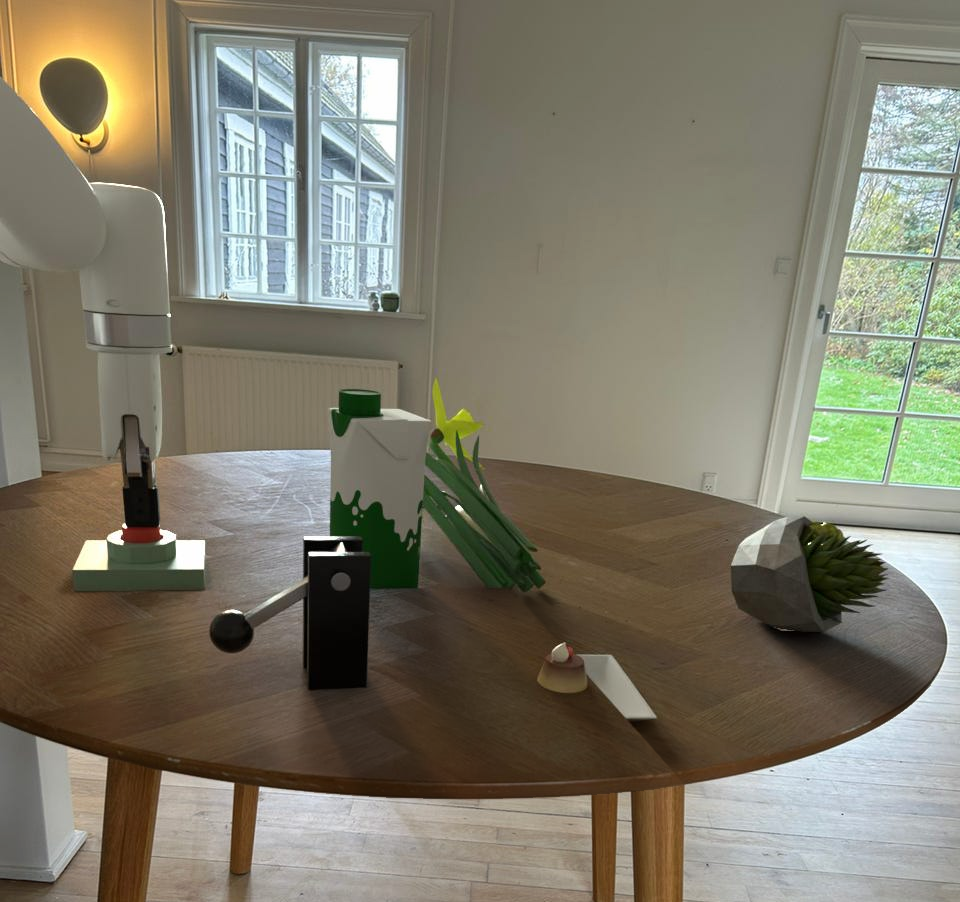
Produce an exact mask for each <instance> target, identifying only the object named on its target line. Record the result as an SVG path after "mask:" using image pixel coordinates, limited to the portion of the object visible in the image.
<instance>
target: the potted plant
mask: <svg viewBox="0 0 960 902" xmlns="http://www.w3.org/2000/svg"><path fill="white" fill-rule="evenodd" d="M851 537H852V535H849V536H846V537H845V536H844V533H843V531H842V530H841V529H840V528H838V527H837V526H836V525H835V524H832V523H829V522H823V524H821V523H820V522H819V521H817V520H811V519H809V518H808V517H806V516H805V515H797V516H796V515H795V516H794V515H793V516H785V517H782V518H779V519H776V520H773V521H772V522H770V523H769V524H767V525H766V526H763V528H761V529H758V530H757V531H756V532H754V533H752V534H750V535H749V536H747V537H746V538H744V540H742V541H741V542H740V544H739V545H738V546H737V549H736V551H735V554H734V556H733V559H732V562H731V564H730V584H731V586H730V587H731V593H732V596H733V598H734V601H735V604H736V605H737V608H738V610H740V611H742V612H743V613H745V614H747V615H748V616H751V617H753V618H755V619H756V620H758V621H760V622H762V623H764V624H766V625H768V624H769V625H771V626H773V627H776V628H780V629H787V630H794V631H801V633H825V632H827V631H828V630H830V629H832V628H834V627H836V626H838V625H840V624H843V621H842V620H843V619H842V613H850V614H861V612H860V611H857V610H854V609H851V608H848V607H847V606H854V607H865V608H873V607H876V605H873V604H869V603H867V602H863V601H860V600H867V599H873V598H879V595H874V594H878V593H882V592H886V591H887V589H884V588H879V586H883V585H885V584H886V583H884V582H883V581H887V580H888V579H889V577H885V576H888V575H889V573H884V572H886V571H889V569H890V568H888V567H884V566H883V565H885V564H886V563H887V562H886V561H882V558H879V557H878V556H881V555H882V553H881V552H875V551H866V550H867V549H868V548H870V547H871V546H874V544H867V545H863V546H859V545H862V544H863V543H865V542H866V541H868V539H864V540H862V539H859V540H854V541H851V542H848V543H846V542H847V541H848V540H849V539H850V538H851ZM876 557H878V558H876ZM882 573H884V574H882ZM769 625H768V626H769ZM771 626H770V627H771ZM773 627H772V628H773Z"/></svg>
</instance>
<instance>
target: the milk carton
mask: <svg viewBox="0 0 960 902" xmlns="http://www.w3.org/2000/svg"><path fill="white" fill-rule="evenodd" d="M381 407H382V393H381V392H380V391H376V390H371V389H363V388H362V389H361V388H343V389H342V388H341V389H340V390H338V407H328V408H327V417H328V418H327V419H328V433H329V449H330V478H329V479H330V481H329V482H330V485H329V486H330V487H329V490H330V491H329V537H361V538H362V540H363V552H369V553H370V555H371V575H370V590H403V589H404V590H406V589H407V590H411V589H414V590H415V589H416V590H417V589H419V578H420V563H421V562H420V560H421V559H420V558H421V542H422V540H421V539H422V526H423V525H422V523H423V520H422V514H423V490H424V475H425V470H426V465H425V458H426V452H427V451H428V446H429V436H430V433H431V428H432V427H431V426H432V420H430V419H428V418H425V417H422V416H419V415H417V414H414V413H412V412H408V411H406V410H404V409H401V408H381Z"/></svg>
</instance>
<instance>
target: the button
mask: <svg viewBox="0 0 960 902" xmlns="http://www.w3.org/2000/svg"><path fill="white" fill-rule="evenodd" d="M121 530H122V536H123V541H124V542H130V543H151V542H157V541H159V540H161V535H160V530H161V525H160V524H159V526H158V527H127V526H126V524H125V523H123V524H121Z"/></svg>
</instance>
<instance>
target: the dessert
mask: <svg viewBox="0 0 960 902" xmlns="http://www.w3.org/2000/svg"><path fill="white" fill-rule="evenodd" d="M562 640H563V643H560V644H559V645H557V646H555V647H554V648H553V649H552V651H551V653H548V654H547V655H546V657H545V659H544V661H543V663H542V666H541V669H540V671H539V673H538V676H537V678H536V679H537V683H538V684H539V685H540V686H542V687H543V688H545V689H547V690H549V691H553V692H556V693H563V694H574V693H575V694H576V693H580V692H583V691H585V690H586V689H587V688H588V686H589V685H588V678H587V676H588V677H589V679H590V680H591V681H592V682H593V683H594V684H595V685H596V686H597V688H598V689H599V690H600V691H601V692H602V694H603V695H604V696H605V697H606V698H607V699H608V700H609V701H610V702H611V704H612V705H613V706H614V707H615V708H616V709H617V710H618V711H619V713H621V715H622V716H623V717H624V718H625V719H626V721H627V722H630V723H631V722H639V721H646V720H647V721H648V720H655V719H658V717H657V715H656V713H654V711H653V709H651V707H650V705H649V704H648V703H647V702H646V700H645V698H643V696H642V695H641V693H640V692H639V690H638V689H637V688H636V686H635V685H634V683H633V682H632V681H631V679H630V678H629V676H628V675H627V674H626V673H625V671H624V669H623V668H622V667H621V665H620V664H619V662H618V661H617V660H616V658H615V657H614V656H613V655H612V654H575V653H574V652H575V651H574V649H573V648H572V647H571V646H569V645H568V644H567V642H566V641H565V638H562Z"/></svg>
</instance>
